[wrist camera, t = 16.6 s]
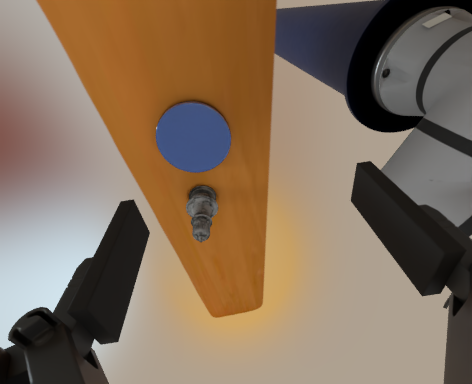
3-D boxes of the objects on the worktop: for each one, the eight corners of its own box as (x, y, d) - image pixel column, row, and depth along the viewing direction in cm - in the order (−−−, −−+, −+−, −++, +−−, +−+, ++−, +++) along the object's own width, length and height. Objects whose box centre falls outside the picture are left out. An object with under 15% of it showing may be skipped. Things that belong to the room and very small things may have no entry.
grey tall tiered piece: (196, 179, 46) (192, 223, 36) (223, 192, 48) (226, 236, 39) (182, 201, 49) (175, 247, 39) (208, 212, 51) (208, 258, 41)
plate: (244, 130, 41) (245, 134, 40) (203, 179, 46) (203, 183, 45) (183, 83, 36) (182, 85, 35) (143, 143, 41) (141, 147, 40)
